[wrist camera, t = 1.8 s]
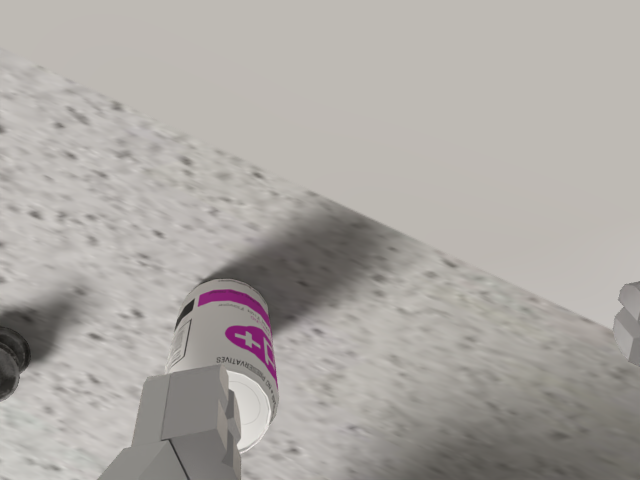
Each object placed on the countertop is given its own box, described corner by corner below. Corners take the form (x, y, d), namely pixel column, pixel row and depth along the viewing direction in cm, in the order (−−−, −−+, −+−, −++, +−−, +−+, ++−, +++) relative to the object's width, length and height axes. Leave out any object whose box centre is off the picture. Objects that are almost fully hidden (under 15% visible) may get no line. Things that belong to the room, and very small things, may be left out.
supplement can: (238, 259, 49) (238, 339, 35) (285, 328, 52) (301, 429, 38) (161, 304, 49) (129, 401, 35) (211, 370, 52) (200, 485, 38)
